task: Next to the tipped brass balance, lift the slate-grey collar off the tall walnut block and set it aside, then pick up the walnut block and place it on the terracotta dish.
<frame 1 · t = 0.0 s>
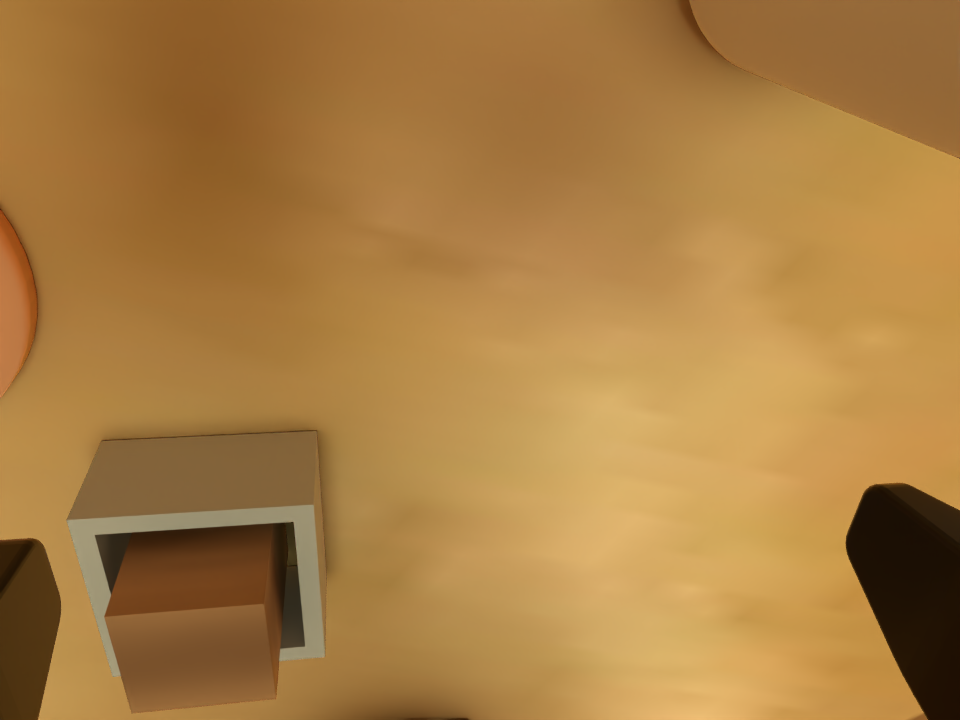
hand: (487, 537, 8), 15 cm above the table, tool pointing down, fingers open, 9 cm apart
block: (211, 578, 24), in the collar
collar: (223, 513, 26), on the table
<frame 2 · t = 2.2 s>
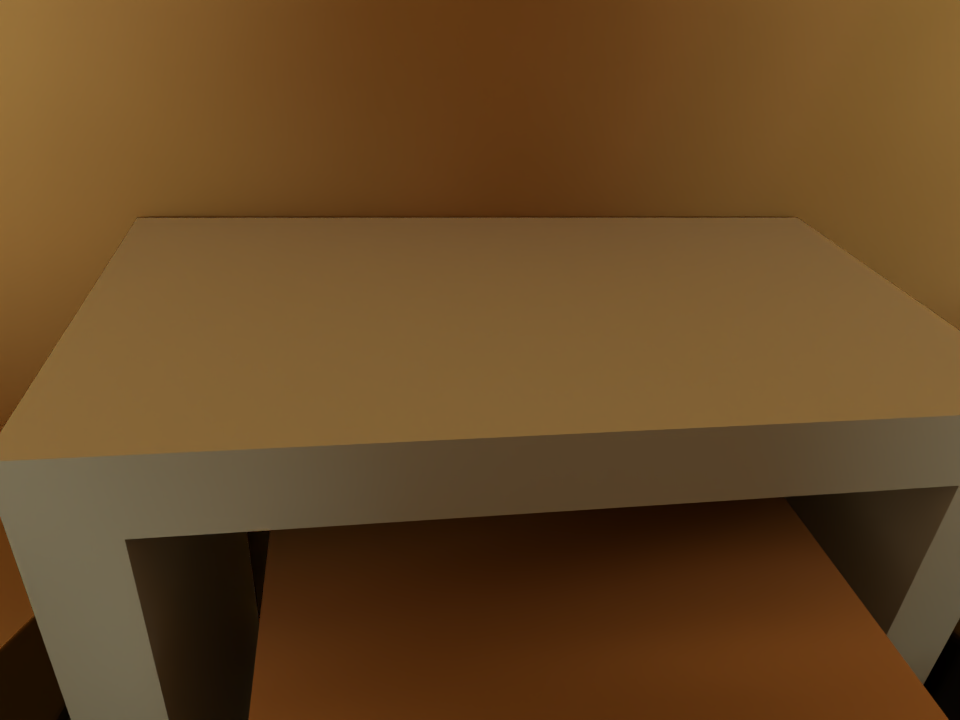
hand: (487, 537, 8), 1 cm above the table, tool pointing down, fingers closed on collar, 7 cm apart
block: (521, 691, 7), in the collar
collar: (473, 478, 9), on the table, touching gripper
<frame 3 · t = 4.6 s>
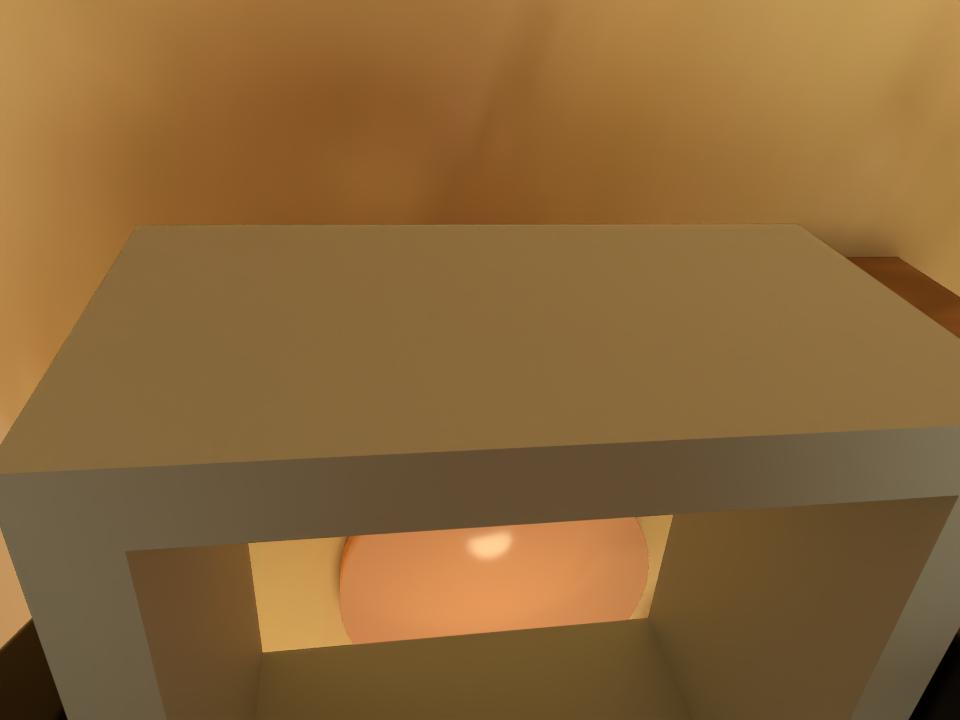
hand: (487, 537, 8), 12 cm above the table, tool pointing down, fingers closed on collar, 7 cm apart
block: (873, 374, 20), on the table
collar: (473, 483, 9), point 11 cm above the table, touching gripper
dish: (492, 565, 25), on the table
when the fingers open (2 cm above the table, at t = 6.8 s): collar drops 1 cm, on the table.
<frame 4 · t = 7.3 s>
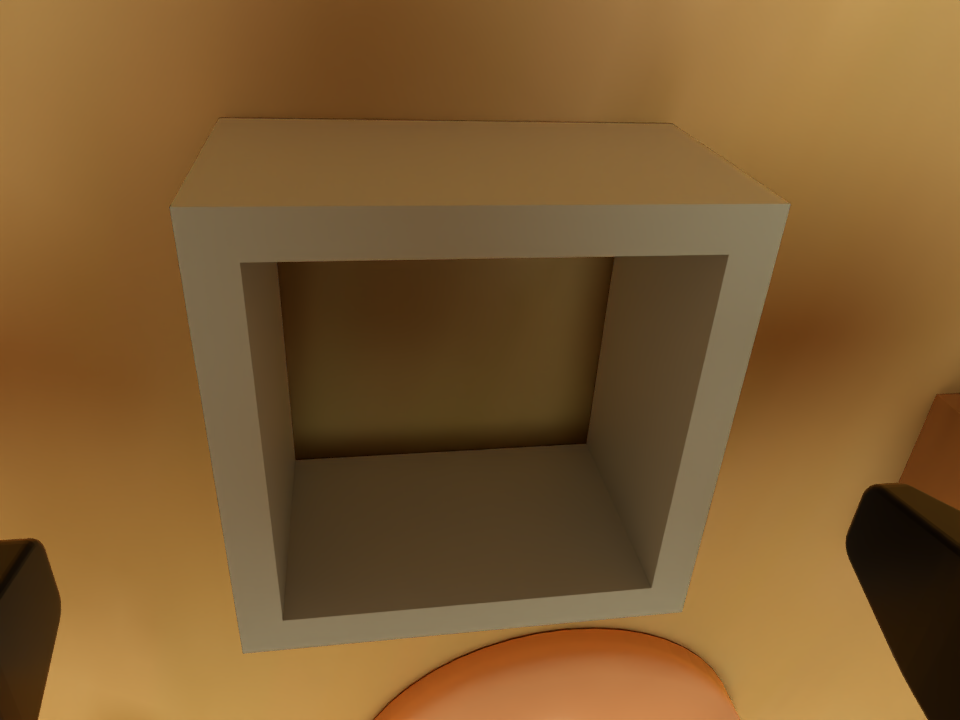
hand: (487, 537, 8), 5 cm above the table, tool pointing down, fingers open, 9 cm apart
collar: (449, 322, 13), on the table
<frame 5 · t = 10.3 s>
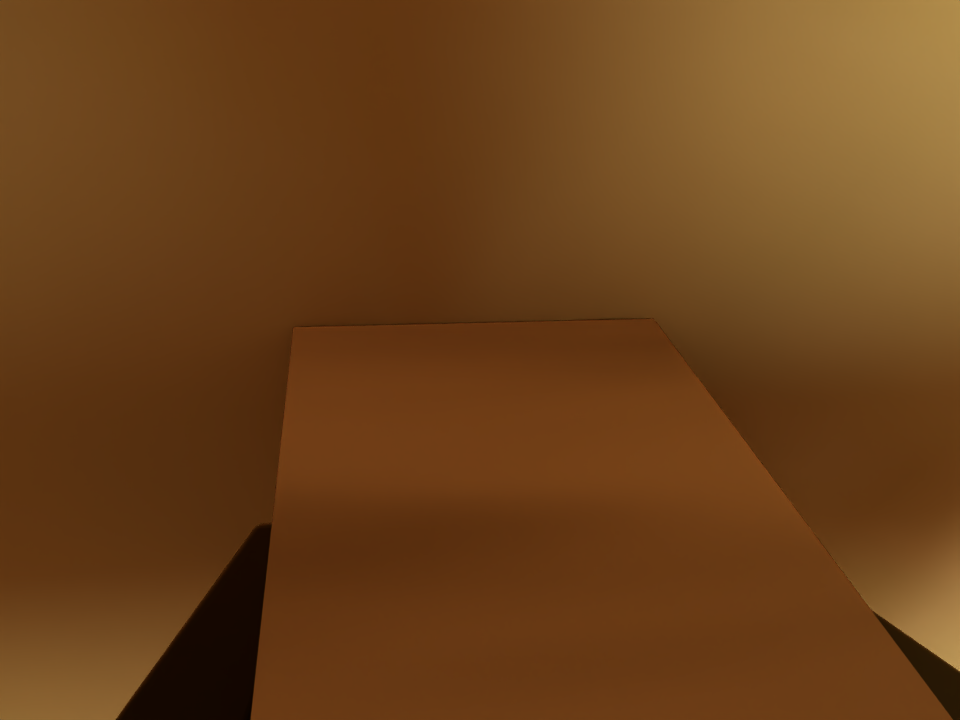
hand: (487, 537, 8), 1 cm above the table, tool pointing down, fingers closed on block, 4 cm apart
block: (519, 676, 7), on the table, touching gripper
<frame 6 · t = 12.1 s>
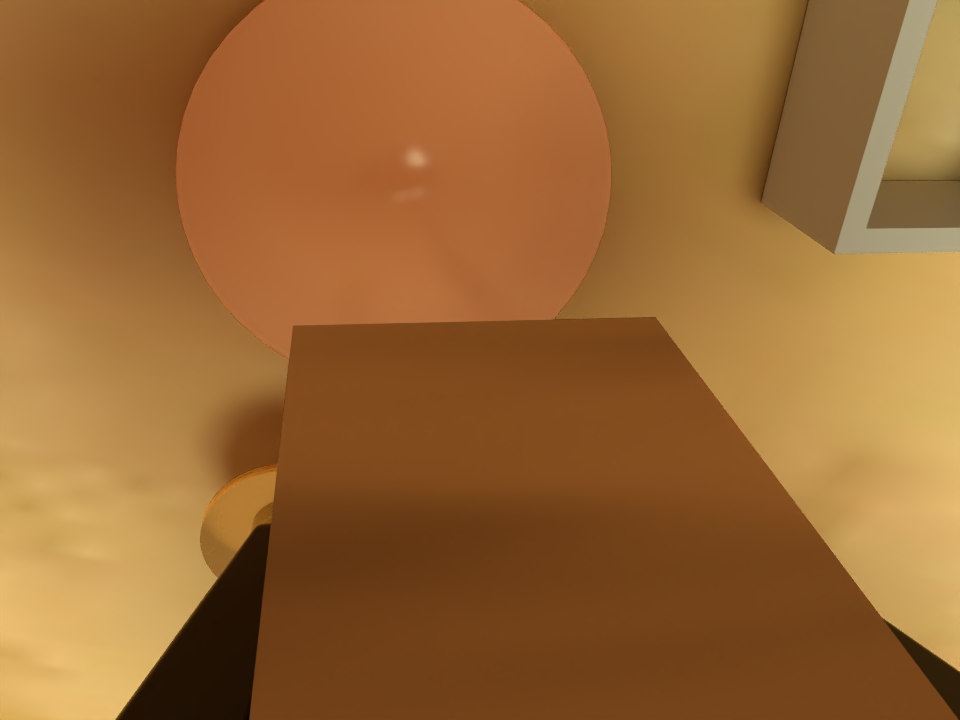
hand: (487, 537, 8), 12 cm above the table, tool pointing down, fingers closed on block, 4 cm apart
block: (520, 677, 7), point 14 cm above the table, touching gripper
collar: (912, 75, 19), on the table
dish: (400, 187, 19), on the table
balance: (309, 599, 25), on the table
when the fingers open (4 cm above the table, at t = 13.9 s): block drops 2 cm, resting on dish.
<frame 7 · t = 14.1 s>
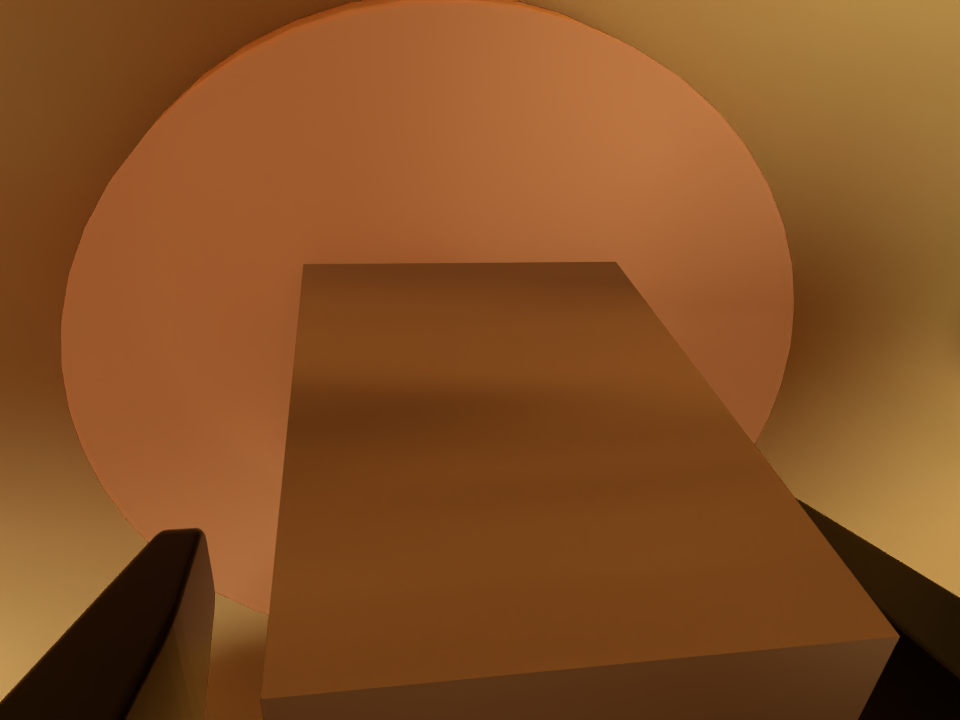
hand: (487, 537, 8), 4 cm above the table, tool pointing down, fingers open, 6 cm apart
block: (494, 549, 8), on the dish, point 4 cm above the table
dish: (442, 352, 12), on the table
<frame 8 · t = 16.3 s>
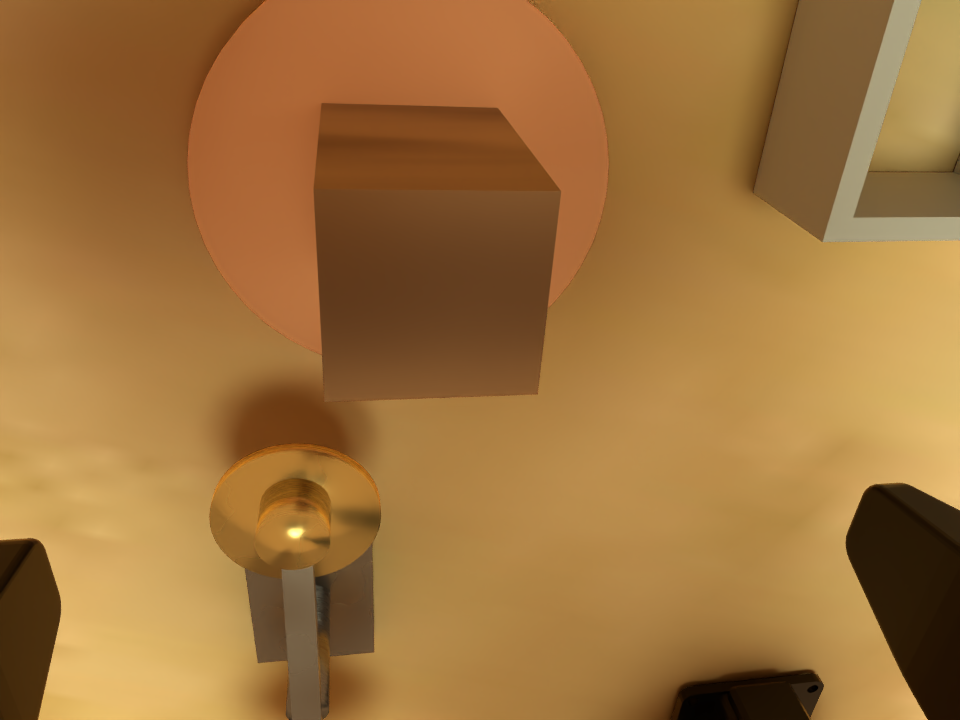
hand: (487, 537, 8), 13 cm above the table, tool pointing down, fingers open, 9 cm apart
block: (421, 237, 16), on the dish, point 4 cm above the table
collar: (899, 70, 20), on the table
dish: (403, 176, 19), on the table
balance: (312, 579, 26), on the table
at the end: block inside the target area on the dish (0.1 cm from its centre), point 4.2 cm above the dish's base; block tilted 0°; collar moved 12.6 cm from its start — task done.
